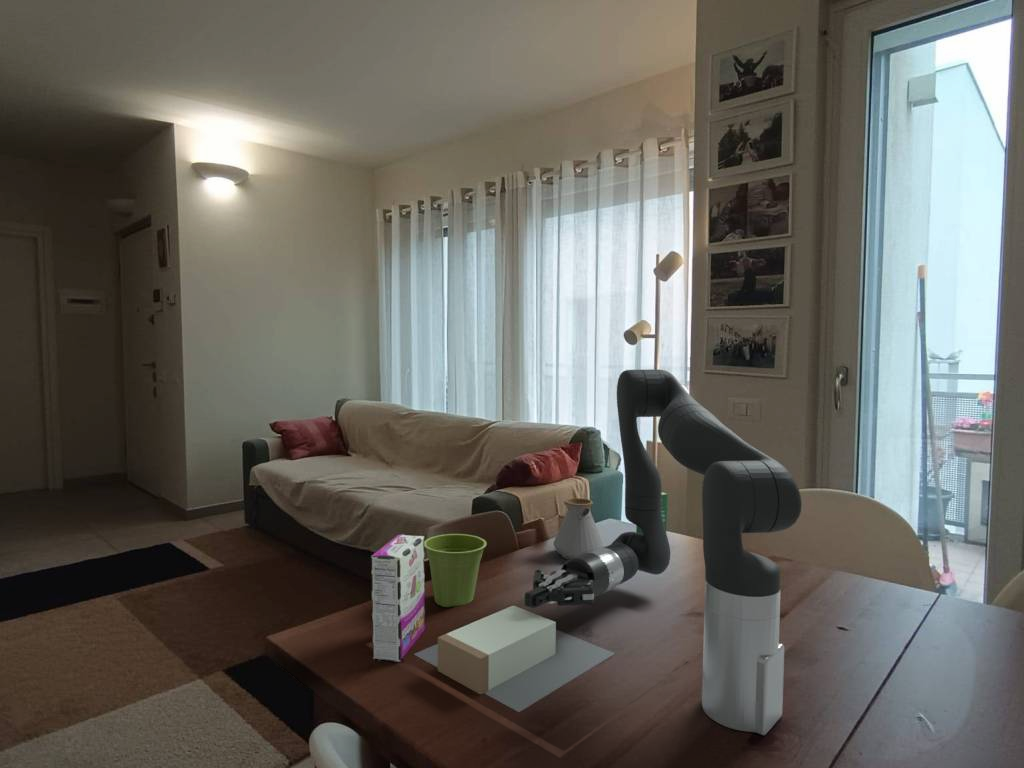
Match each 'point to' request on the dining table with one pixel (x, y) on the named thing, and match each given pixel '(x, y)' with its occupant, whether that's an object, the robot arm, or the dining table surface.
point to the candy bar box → (397, 597)
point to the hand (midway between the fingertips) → (528, 601)
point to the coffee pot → (577, 530)
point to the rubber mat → (541, 671)
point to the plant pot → (454, 567)
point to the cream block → (496, 648)
